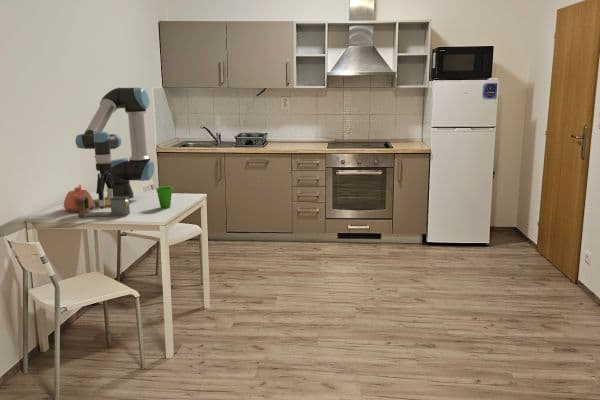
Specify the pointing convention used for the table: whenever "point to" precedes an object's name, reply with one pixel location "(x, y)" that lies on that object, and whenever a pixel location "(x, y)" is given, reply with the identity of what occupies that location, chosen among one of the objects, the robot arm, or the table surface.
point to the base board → (102, 214)
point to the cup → (164, 196)
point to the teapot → (72, 196)
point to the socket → (83, 205)
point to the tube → (107, 204)
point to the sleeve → (119, 205)
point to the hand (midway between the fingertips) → (106, 203)
